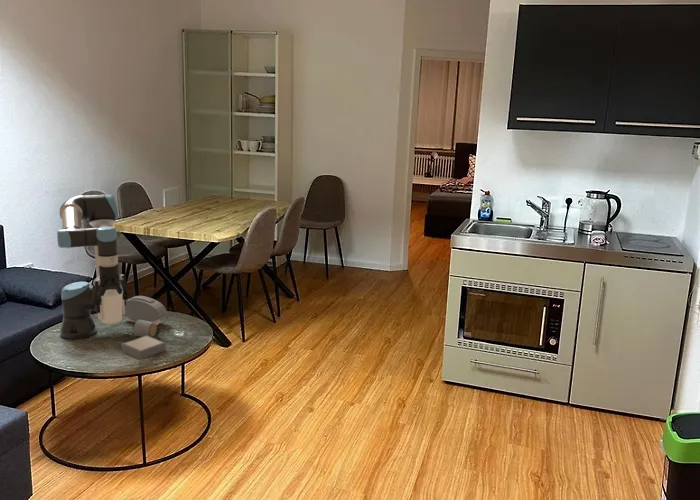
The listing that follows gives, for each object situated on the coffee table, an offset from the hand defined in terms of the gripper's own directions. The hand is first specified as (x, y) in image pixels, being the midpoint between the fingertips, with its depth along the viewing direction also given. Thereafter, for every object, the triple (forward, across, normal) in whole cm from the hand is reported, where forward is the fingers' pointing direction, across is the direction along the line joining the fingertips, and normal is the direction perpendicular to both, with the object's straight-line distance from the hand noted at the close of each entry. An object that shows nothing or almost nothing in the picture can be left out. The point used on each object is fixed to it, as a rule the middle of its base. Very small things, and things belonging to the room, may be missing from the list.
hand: (111, 316), depth 259 cm
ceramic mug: (+18, +22, +10) cm, 30 cm away
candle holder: (+2, 0, 0) cm, 2 cm away
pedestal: (+18, +12, -4) cm, 22 cm away
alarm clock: (+18, +31, +26) cm, 44 cm away
